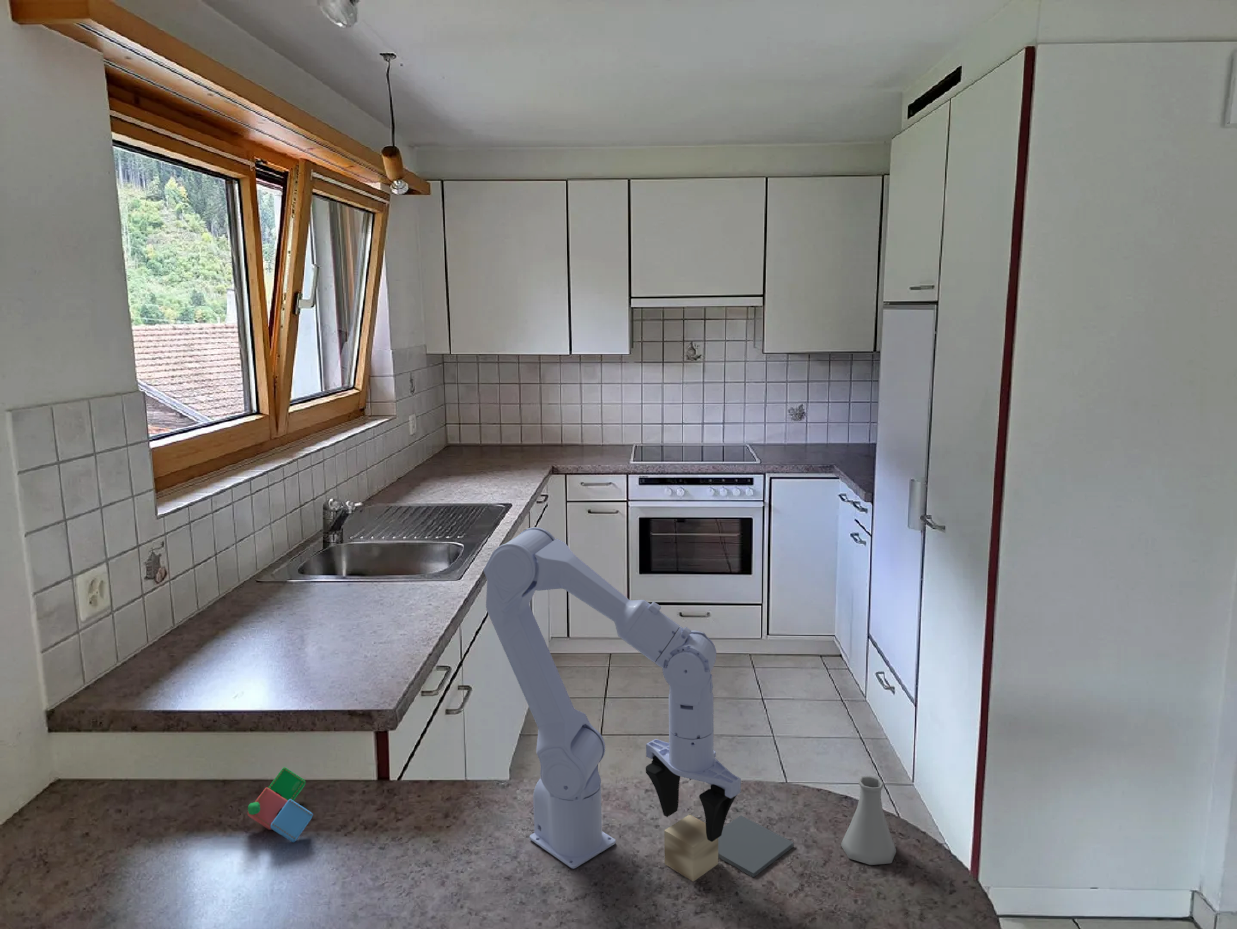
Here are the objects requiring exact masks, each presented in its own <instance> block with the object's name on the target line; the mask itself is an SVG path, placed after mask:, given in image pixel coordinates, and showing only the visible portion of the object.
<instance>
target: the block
mask: <svg viewBox="0 0 1237 929" xmlns="http://www.w3.org/2000/svg"><path fill="white" fill-rule="evenodd" d="M663 833H664V834H663V835H664V836H663V837H664V841H663V842H664V865H665V866H667V867H669V868H670V869H672V870H674V871H675V872H676V873H678V874H680V875H682V876H683V877H685V878H686V879H688V880H689V881H691V882H695V881H696V880H698V879H699V878H700V877H702V876H704V874H706V873H708V872H709V871H710V870H712V869H713V868H715V867H716V866H717V865H719V858H718V838H717V839H716V840H714V841H713V842H711V841H709V840H708V839H707V835H706V822H704V821H703V820H700V819H699V818H696V817H695V816H693V815H692V814H688V815H687V816H685V817H682V818H681V819H680V820H678V821H676V822H675V823H673V824H672V825H671V826H669V827H667V828H665V829H664V832H663Z"/></svg>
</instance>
